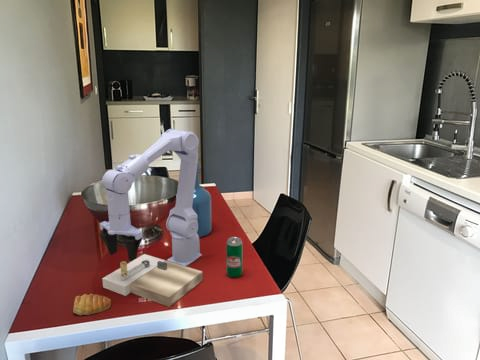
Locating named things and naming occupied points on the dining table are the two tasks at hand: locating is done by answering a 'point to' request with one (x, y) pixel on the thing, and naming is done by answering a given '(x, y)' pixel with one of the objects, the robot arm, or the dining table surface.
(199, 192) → the blue bottle
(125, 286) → the frame slab
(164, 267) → the block
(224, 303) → the dining table surface
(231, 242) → the soda can
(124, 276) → the bar
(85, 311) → the pastry
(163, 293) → the slab
